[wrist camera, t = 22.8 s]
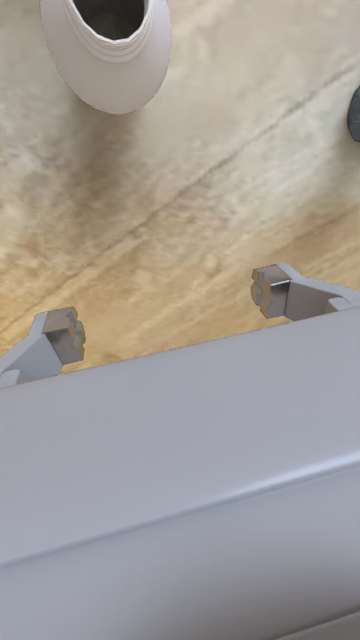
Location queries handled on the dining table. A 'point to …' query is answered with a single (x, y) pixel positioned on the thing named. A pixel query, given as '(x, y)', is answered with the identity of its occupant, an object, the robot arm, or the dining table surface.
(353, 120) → the moka pot
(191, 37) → the dining table surface
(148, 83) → the water bottle
